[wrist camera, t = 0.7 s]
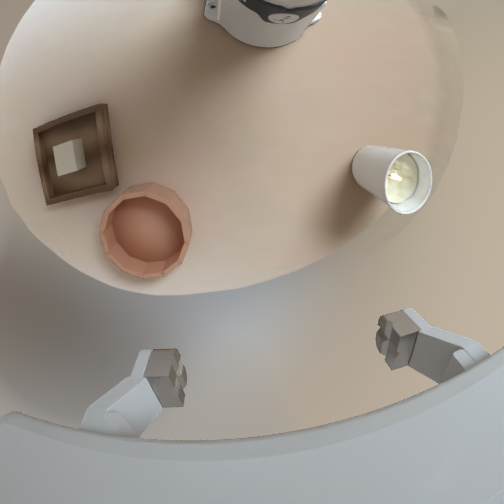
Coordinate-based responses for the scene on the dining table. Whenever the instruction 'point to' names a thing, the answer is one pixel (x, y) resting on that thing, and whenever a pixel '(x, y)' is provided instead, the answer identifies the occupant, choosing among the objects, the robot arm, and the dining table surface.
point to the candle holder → (394, 176)
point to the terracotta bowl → (146, 231)
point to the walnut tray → (95, 151)
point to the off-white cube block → (69, 156)
